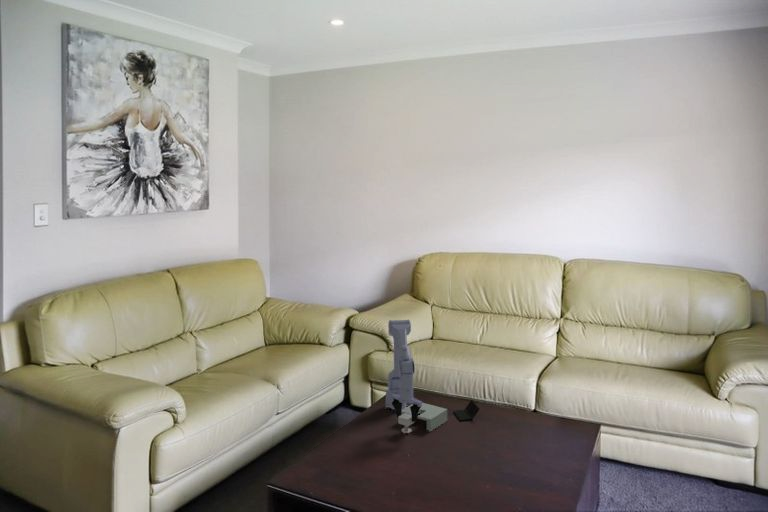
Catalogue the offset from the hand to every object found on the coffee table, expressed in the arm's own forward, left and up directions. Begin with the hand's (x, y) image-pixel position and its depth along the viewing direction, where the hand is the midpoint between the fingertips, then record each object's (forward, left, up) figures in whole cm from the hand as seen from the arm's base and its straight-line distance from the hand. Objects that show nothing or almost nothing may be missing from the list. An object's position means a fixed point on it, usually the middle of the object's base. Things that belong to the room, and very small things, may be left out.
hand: (406, 419), depth 245 cm
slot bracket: (0, +14, -6) cm, 15 cm away
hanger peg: (0, 0, -6) cm, 6 cm away
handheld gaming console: (+12, +31, -6) cm, 33 cm away
